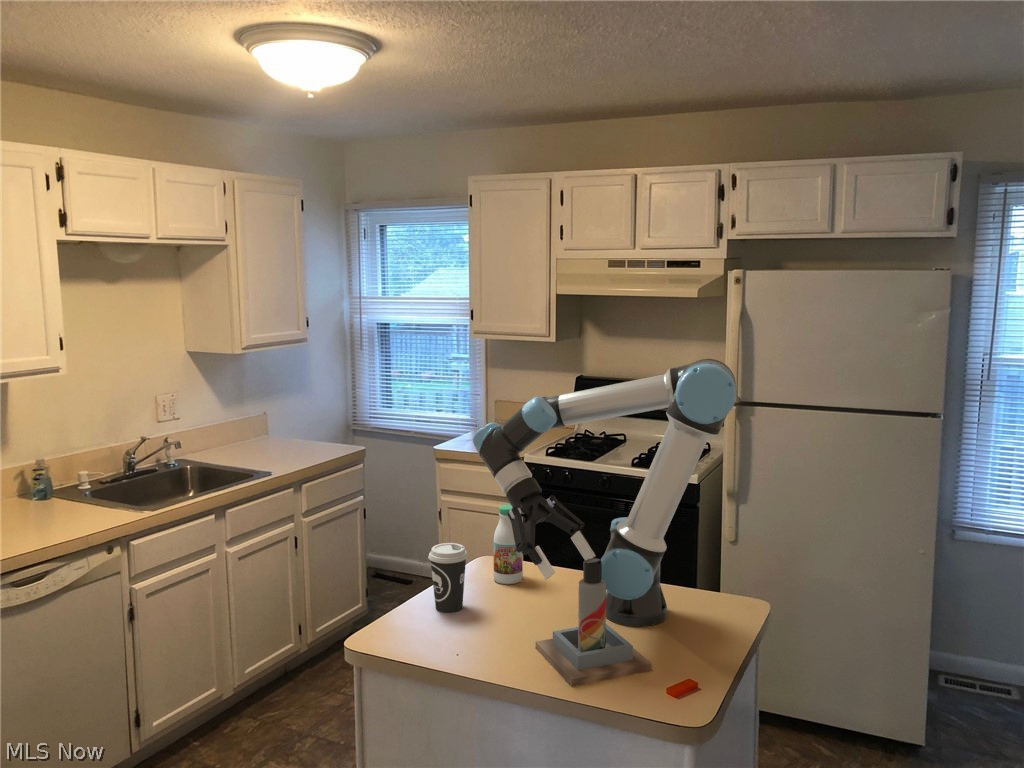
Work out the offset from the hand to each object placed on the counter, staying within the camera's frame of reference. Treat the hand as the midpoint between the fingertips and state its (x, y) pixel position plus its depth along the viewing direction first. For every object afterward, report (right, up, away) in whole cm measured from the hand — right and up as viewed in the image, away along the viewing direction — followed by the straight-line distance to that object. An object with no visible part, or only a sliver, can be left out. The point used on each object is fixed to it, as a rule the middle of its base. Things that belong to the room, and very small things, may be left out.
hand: (571, 567), depth 169 cm
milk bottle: (-14, -14, +44) cm, 48 cm away
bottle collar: (+4, -17, -1) cm, 18 cm away
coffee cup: (-28, -16, +26) cm, 41 cm away
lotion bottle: (+4, -18, -1) cm, 18 cm away
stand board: (+4, -19, -1) cm, 19 cm away
